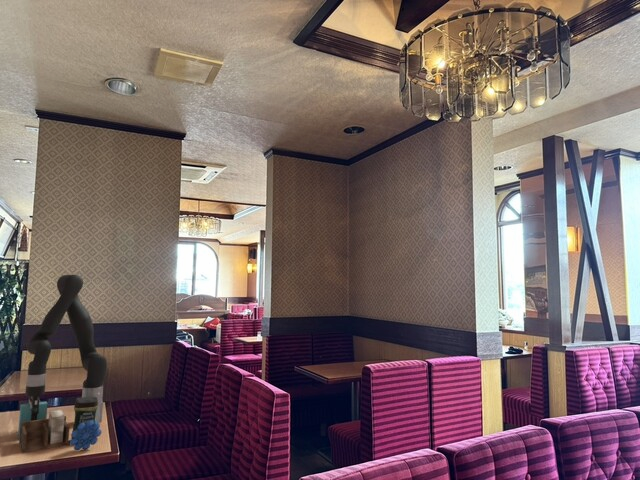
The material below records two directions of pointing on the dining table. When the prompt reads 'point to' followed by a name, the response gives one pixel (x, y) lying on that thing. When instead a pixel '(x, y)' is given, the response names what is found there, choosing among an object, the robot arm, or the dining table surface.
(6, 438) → the dining table surface
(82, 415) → the coffee jar
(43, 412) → the teal book
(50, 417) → the book rack
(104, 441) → the dining table surface
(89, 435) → the grapes
